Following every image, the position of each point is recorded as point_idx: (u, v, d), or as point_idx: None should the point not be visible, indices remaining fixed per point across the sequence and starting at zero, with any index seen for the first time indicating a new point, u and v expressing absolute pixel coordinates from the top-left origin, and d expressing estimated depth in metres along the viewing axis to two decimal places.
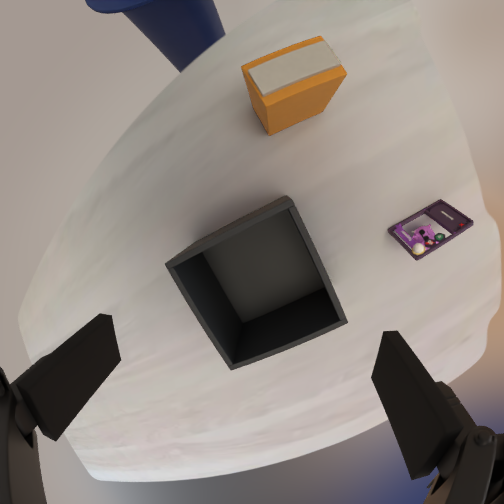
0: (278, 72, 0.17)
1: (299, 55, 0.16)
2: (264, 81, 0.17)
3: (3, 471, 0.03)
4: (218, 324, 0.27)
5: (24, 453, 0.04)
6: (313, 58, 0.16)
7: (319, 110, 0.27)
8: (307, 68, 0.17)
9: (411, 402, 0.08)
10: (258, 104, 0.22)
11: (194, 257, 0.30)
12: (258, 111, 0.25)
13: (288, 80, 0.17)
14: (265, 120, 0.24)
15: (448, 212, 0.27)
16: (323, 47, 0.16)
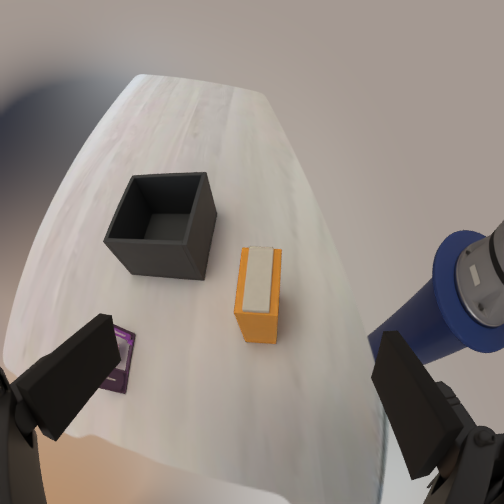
0: (259, 263, 0.27)
1: (264, 283, 0.26)
2: (257, 251, 0.28)
3: (3, 471, 0.03)
4: (159, 186, 0.41)
5: (24, 453, 0.04)
6: (256, 291, 0.25)
7: None
8: (251, 282, 0.26)
9: (411, 402, 0.08)
10: None
11: None
12: None
13: (249, 265, 0.27)
14: None
15: (110, 382, 0.30)
16: (262, 305, 0.25)
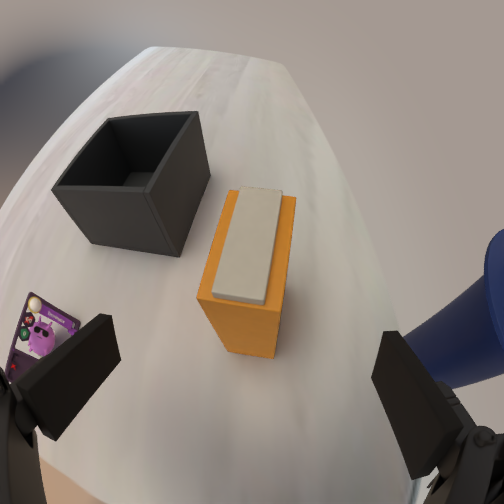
0: (254, 212, 0.15)
1: (260, 248, 0.13)
2: (254, 195, 0.15)
3: (3, 471, 0.03)
4: (138, 132, 0.29)
5: (24, 453, 0.04)
6: (243, 261, 0.13)
7: None
8: (235, 244, 0.14)
9: (411, 402, 0.08)
10: None
11: None
12: None
13: (236, 215, 0.15)
14: None
15: None
16: (252, 287, 0.12)
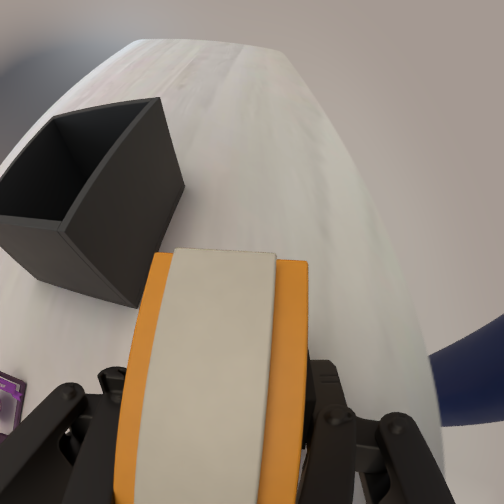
0: (208, 327, 0.05)
1: (230, 436, 0.04)
2: (206, 272, 0.06)
3: (105, 491, 0.04)
4: (87, 132, 0.20)
5: None
6: (192, 469, 0.04)
7: None
8: (165, 422, 0.04)
9: None
10: None
11: None
12: None
13: (162, 336, 0.05)
14: None
15: None
16: None
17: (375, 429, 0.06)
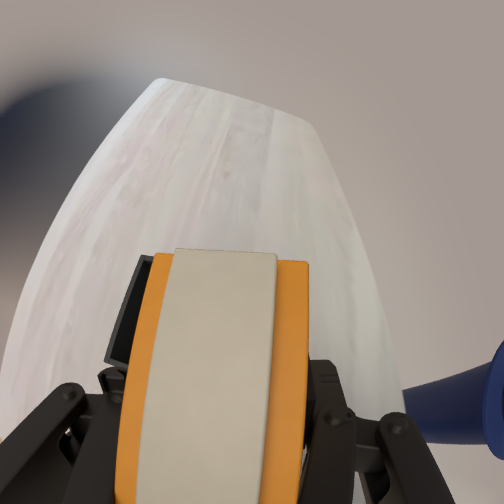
0: (209, 328, 0.05)
1: (232, 437, 0.04)
2: (207, 272, 0.06)
3: (105, 491, 0.04)
4: None
5: None
6: (193, 470, 0.04)
7: None
8: (167, 424, 0.04)
9: None
10: None
11: None
12: None
13: (163, 337, 0.05)
14: None
15: None
16: None
17: (375, 429, 0.06)
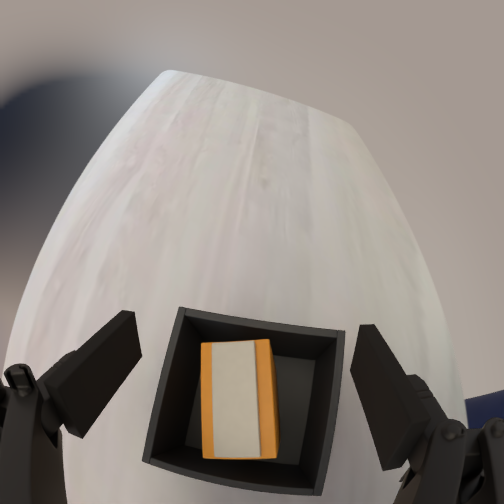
0: (232, 374, 0.14)
1: (246, 411, 0.13)
2: (227, 352, 0.15)
3: (24, 473, 0.03)
4: (236, 332, 0.21)
5: (48, 454, 0.05)
6: (234, 426, 0.12)
7: None
8: (222, 411, 0.13)
9: (382, 393, 0.08)
10: None
11: (314, 353, 0.23)
12: None
13: (215, 380, 0.14)
14: None
15: None
16: (247, 448, 0.12)
17: (478, 432, 0.05)
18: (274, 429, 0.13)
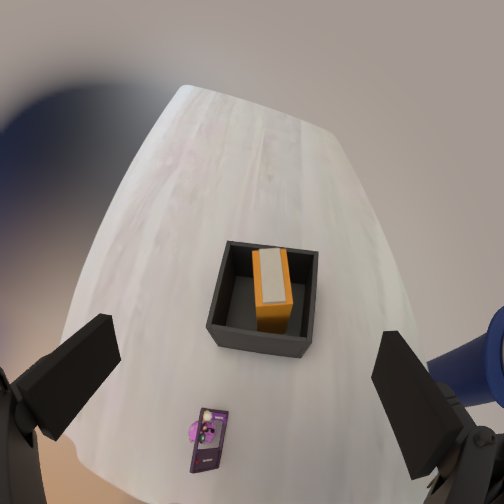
0: (270, 262, 0.32)
1: (277, 278, 0.30)
2: (267, 252, 0.32)
3: (3, 471, 0.03)
4: None
5: (24, 453, 0.04)
6: (272, 286, 0.30)
7: None
8: (266, 279, 0.30)
9: (411, 402, 0.08)
10: None
11: (303, 274, 0.41)
12: None
13: (262, 265, 0.31)
14: None
15: (208, 463, 0.28)
16: (279, 296, 0.29)
17: None
18: (290, 289, 0.30)
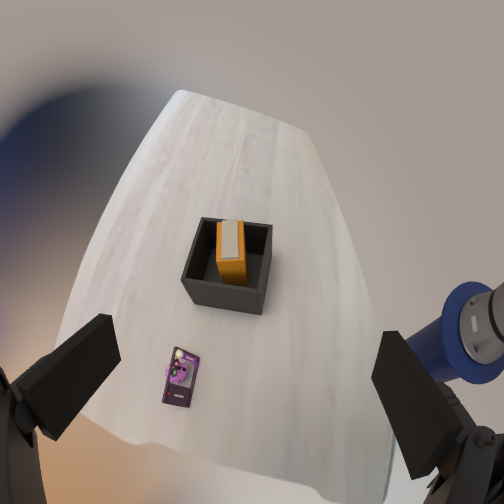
0: (229, 229, 0.41)
1: (233, 241, 0.40)
2: (227, 223, 0.42)
3: (3, 471, 0.03)
4: None
5: (24, 453, 0.04)
6: (229, 246, 0.40)
7: None
8: (225, 241, 0.40)
9: (411, 402, 0.08)
10: None
11: (264, 246, 0.51)
12: None
13: (222, 231, 0.41)
14: None
15: (179, 399, 0.38)
16: (233, 253, 0.39)
17: None
18: (243, 250, 0.40)
